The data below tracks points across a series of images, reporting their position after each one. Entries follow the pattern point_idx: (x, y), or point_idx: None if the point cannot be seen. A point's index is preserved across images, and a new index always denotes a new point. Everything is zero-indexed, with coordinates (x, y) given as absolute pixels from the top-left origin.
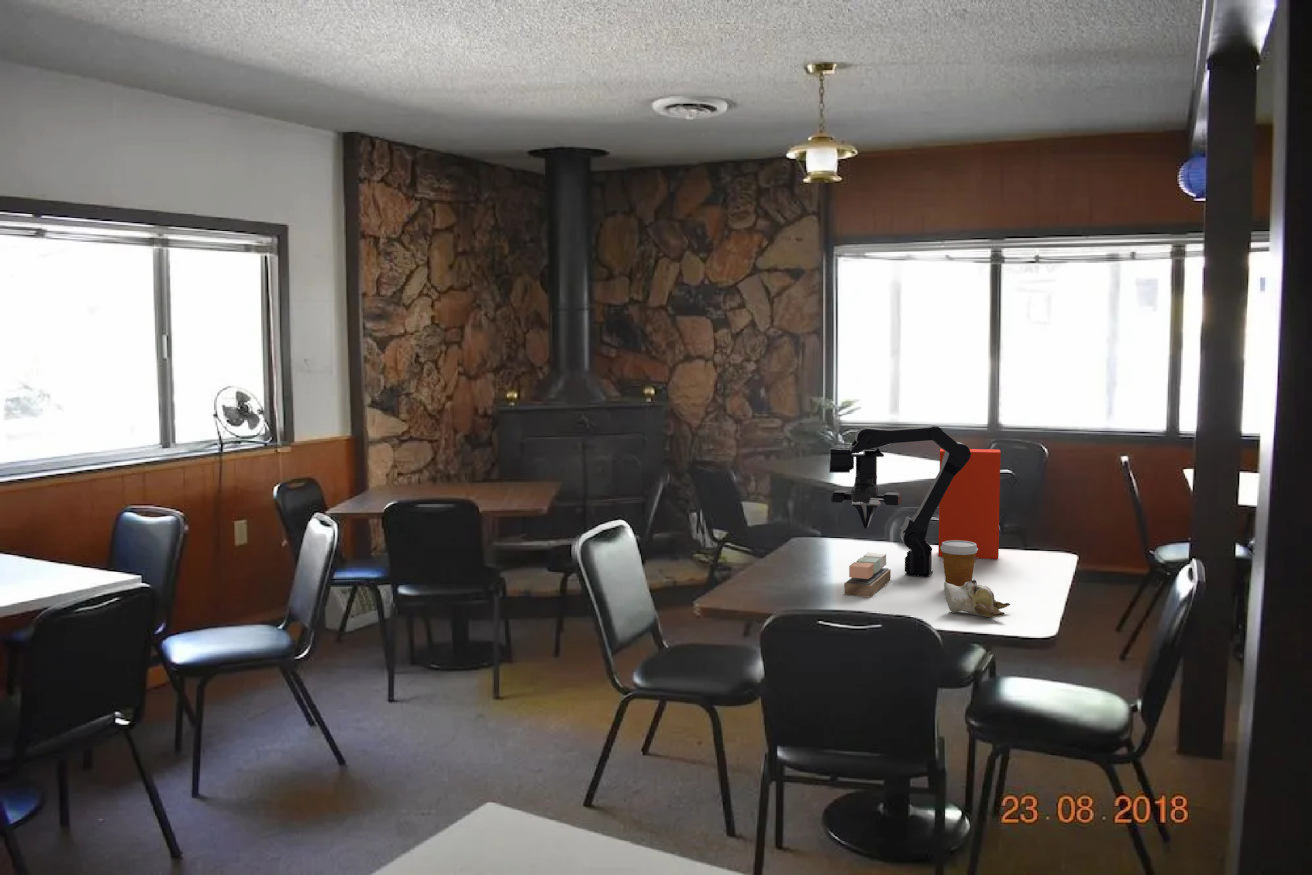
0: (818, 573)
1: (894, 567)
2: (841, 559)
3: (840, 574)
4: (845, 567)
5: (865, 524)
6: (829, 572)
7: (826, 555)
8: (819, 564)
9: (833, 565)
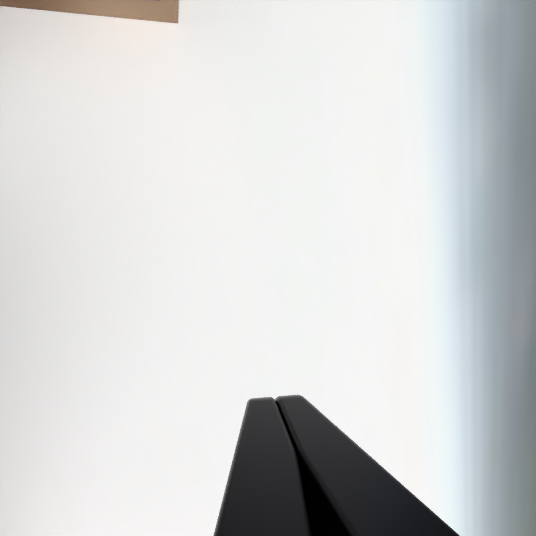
0: (524, 83)
1: (81, 424)
2: (401, 475)
3: (376, 102)
4: (364, 317)
5: (292, 442)
6: (452, 142)
7: (474, 514)
8: (510, 333)
9: (435, 339)
